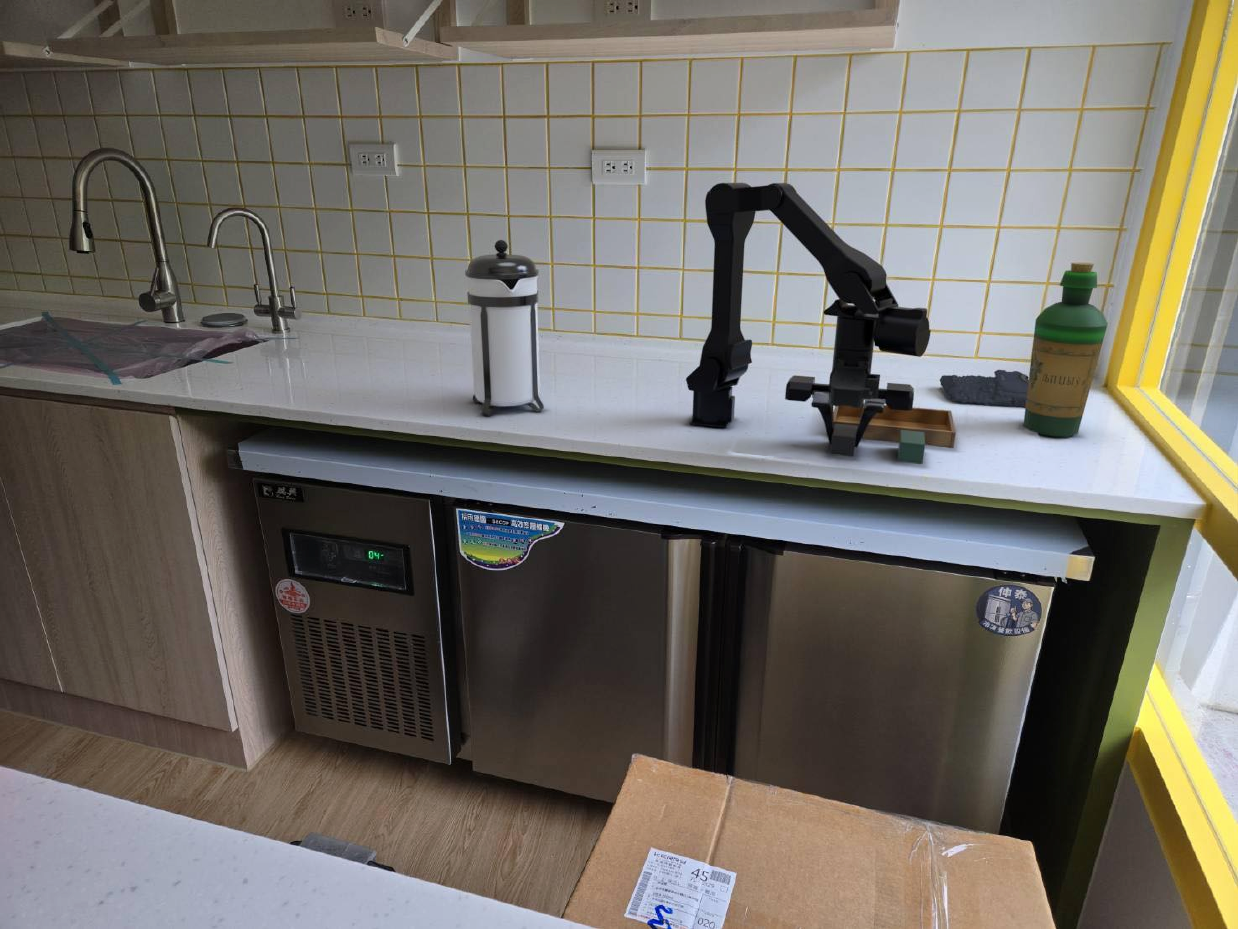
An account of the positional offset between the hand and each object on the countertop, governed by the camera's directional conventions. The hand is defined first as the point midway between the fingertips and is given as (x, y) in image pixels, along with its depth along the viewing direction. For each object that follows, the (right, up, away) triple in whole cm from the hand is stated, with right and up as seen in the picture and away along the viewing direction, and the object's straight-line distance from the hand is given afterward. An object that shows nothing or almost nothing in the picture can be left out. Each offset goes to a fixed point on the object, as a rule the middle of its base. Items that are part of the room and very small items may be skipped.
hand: (843, 445), depth 129 cm
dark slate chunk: (+40, +10, +33) cm, 52 cm away
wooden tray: (+11, +2, +10) cm, 15 cm away
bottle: (+39, +3, +11) cm, 40 cm away
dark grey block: (0, -1, 0) cm, 1 cm away
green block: (+10, -2, -3) cm, 10 cm away
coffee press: (-57, +8, +25) cm, 62 cm away
